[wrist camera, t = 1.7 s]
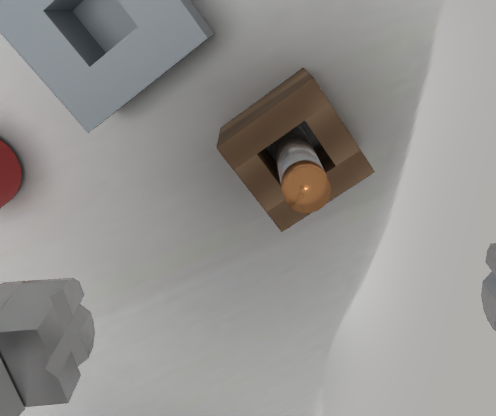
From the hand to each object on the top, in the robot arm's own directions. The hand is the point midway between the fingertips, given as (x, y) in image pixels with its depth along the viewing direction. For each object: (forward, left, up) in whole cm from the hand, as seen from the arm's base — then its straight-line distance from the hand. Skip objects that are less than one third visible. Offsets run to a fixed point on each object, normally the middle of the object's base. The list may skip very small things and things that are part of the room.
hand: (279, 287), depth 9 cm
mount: (-5, 0, -29) cm, 30 cm away
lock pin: (-5, 0, -29) cm, 30 cm away
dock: (+10, +5, -29) cm, 31 cm away
